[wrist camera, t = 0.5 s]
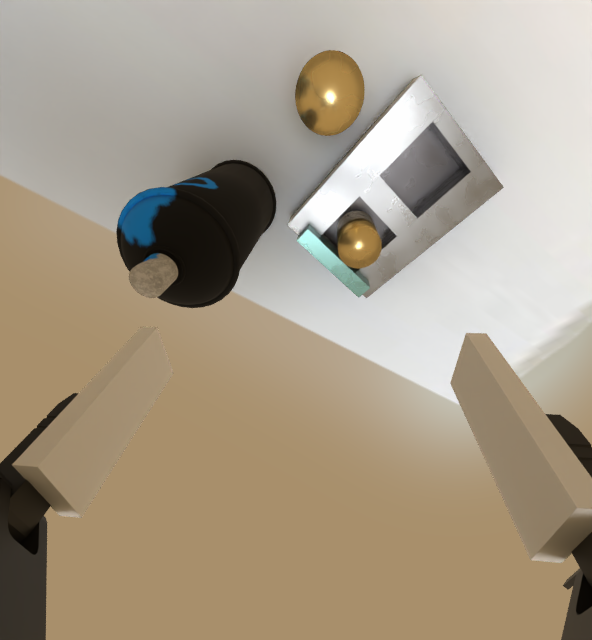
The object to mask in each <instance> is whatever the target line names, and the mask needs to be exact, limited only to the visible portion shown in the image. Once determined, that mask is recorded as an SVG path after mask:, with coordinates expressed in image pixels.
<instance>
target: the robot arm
mask: <svg viewBox="0 0 592 640" xmlns="http://www.w3.org/2000/svg"><path fill="white" fill-rule="evenodd" d="M172 375H173V370H172V367H171V365H170V362H169V359H168V356H167V353H166V351H165V347H164V345H163V342H162V339H161V336H160V333H159V330H158V327H141V328H140V329H139V330H138V331H137V332H136V333H135V334H134V335H133V336H132V337H131V338H130V339H129V340H128V341H127V343H126V344H125V345H124V346H123V347H122V348H121V349H120V350H119V351H118V352H117V353H116V354H115V355H114V356H113V358H112V359H111V360H110V361H109V362H108V363H107V364H106V365H105V366H104V367H103V368H102V369H101V370H100V371H99V373H98V374H97V375H96V376H95V377H94V378H93V379H92V380H91V381H90V382H89V383H88V384H87V385H86V387H84V388H83V389H82V391H81V392H80V393H79V394H78V393H74V394H72V395H71V396H69V397H68V398H66V399H65V400H63V401H62V402H60V403H59V404H58V405H57V406H56V407H55V408H54V409H53V410H52V411H51V412H50V413H49V414H48V415H47V418H45V419H43V420H42V421H41V422H40V423H39V424H38V425H37V428H35V429H33V430H32V431H31V433H30V434H29V435H28V436H27V437H26V438H25V439H24V440H23V441H22V442H21V443H20V444H19V445H18V446H17V447H16V448H15V449H14V450H13V451H12V452H11V453H10V454H9V455H8V456H7V457H6V458H5V459H4V460H3V461H2V462H1V463H0V640H46V639H45V638H46V637H45V636H46V567H47V565H46V563H47V521H46V518H45V517H44V514H45V513H46V511H47V510H48V509H49V507H50V506H51V507H52V508H53V509H54V510H55V511H56V512H57V514H58V515H60V516H69V517H80V518H82V516H83V515H84V513H85V511H86V510H87V508H88V507H89V505H90V504H91V502H92V500H93V499H94V497H95V496H96V494H97V493H98V491H99V489H100V488H101V486H102V485H103V483H104V482H105V480H106V478H107V477H108V475H109V474H110V472H111V470H112V469H113V467H114V466H115V464H116V463H117V461H118V460H119V458H120V456H121V455H122V453H123V452H124V450H125V449H126V447H127V445H128V444H129V442H130V441H131V439H132V437H133V436H134V434H135V433H136V431H137V430H138V428H139V426H140V425H141V423H142V422H143V420H144V418H145V417H146V415H147V414H148V412H149V411H150V409H151V408H152V406H153V404H154V403H155V401H156V400H157V398H158V397H159V395H160V393H161V392H162V390H163V389H164V387H165V386H166V384H167V382H168V381H169V379H170V378H171V376H172ZM451 386H452V388H453V390H454V392H455V394H456V397H457V399H458V401H459V403H460V406H461V408H462V410H463V412H464V414H465V417H466V418H467V421H468V423H469V425H470V428H471V430H472V432H473V434H474V436H475V438H476V441H477V443H478V445H479V447H480V449H481V452H482V454H483V456H484V458H485V460H486V463H487V465H488V467H489V469H490V472H491V474H492V476H493V478H494V480H495V483H496V485H497V487H498V489H499V491H500V493H501V496H502V498H503V500H504V502H505V505H506V507H507V509H508V511H509V514H510V515H511V518H512V520H513V522H514V525H515V527H516V529H517V531H518V533H519V535H520V538H521V540H522V542H523V544H524V547H525V549H526V551H527V553H528V555H529V558H530V560H537V561H546V562H557V563H562V562H563V561H564V560H565V559H566V558H567V557H568V556H569V555H570V554H571V553H572V554H573V556H574V557H575V559H576V561H577V563H578V564H579V566H580V569H579V570H578V571H576V572H575V573H574V574H573V575H572V576H571V577H569V579H567V580H566V582H565V583H564V585H563V586H564V587H565V588H567V589H570V588H571V587H572V586H573V590H572V595H571V599H570V603H569V608H568V612H567V617H566V621H565V626H564V630H563V634H562V639H561V640H592V447H591V444H590V443H589V442H588V440H587V439H586V438H585V437H584V435H583V434H582V433H581V432H580V430H579V429H578V428H576V427H575V426H574V425H573V424H571V423H570V422H569V421H567V420H566V419H565V418H564V417H562V416H561V415H551V414H550V415H549V414H545V413H544V412H543V411H542V409H541V408H540V406H539V405H538V404H537V402H536V401H535V399H534V398H533V397H532V395H531V394H530V393H529V391H528V390H527V389H526V387H525V386H524V384H523V383H522V382H521V380H520V379H519V378H518V376H517V375H516V373H515V372H514V371H513V369H512V368H511V367H510V365H509V364H508V363H507V361H506V360H505V358H504V357H503V356H502V354H501V353H500V352H499V350H498V349H497V347H496V346H495V345H494V343H493V342H492V341H491V339H490V338H489V337H488V335H487V334H481V333H466V335H465V338H464V342H463V345H462V348H461V351H460V354H459V357H458V361H457V364H456V367H455V370H454V373H453V377H452V380H451Z"/></svg>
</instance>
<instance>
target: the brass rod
mask: <svg viewBox="0 0 592 640" xmlns="http://www.w3.org/2000/svg"><path fill="white" fill-rule="evenodd" d="M295 99H296V106H297V110H298V113H299V116H300V118H301V119H302V121H303V123H304V124H305V125H306V126H307V127H308V128H309V129H310V130H312V131H313V132H315V133H317V134H320V135H325V136H330V135H336V134H339V133H341V132H343V131H344V130H346V129H347V128H348V127H349V126H350V125H351V124H352V123H353V122H354V121H355V119H356V118H357V116H358V115H359V112H360V110H361V107H362V104H363V100H364V81H363V76H362V74H361V71H360V69H359V67H358V65H357V64H356V62H355V61H354V60H353V59H352V58H351V57H350V56H348V55H347V54H345V53H343V52H340V51H335V50H329V51H324V52H321V53H319V54H317V55H316V56H314V57H313V58H311V59H310V60H309V61H308V62H307V64H306V65H305V66H304V68H303V69H302V71H301V73H300V75H299V78H298V81H297V85H296V92H295Z"/></svg>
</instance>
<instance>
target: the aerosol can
mask: <svg viewBox="0 0 592 640" xmlns="http://www.w3.org/2000/svg"><path fill="white" fill-rule="evenodd" d="M275 211H276V199H275V193H274V191H273V188H272V185H271V184H270V182H269V180H268V179H267V177H266V176H265V175H264V174H263V173H262V172H261V171H260V170H259V169H258V168H256V167H255V166H253V165H251V164H249V163H247V162H244V161H239V160H230V161H224V162H222V163H219V164H218V165H216V166H215V167H213V168H212V169H211V170H210V171H207V172H205V173H202V174H200V175H197V176H195V177H192V178H190V179H187V180H185V181H182V182H180V183H177V184H175V185H172V186H170V187H159V188H152V189H148V190H146V191H143V192H141V193H139V194H137V195H136V196H135V197H133V198H132V199H131V200H130V201H129V202H128V203H127V205H126V206H125V207H124V209H123V210H122V212H121V215H120V217H119V220H118V225H117V243H118V247H119V251H120V254H121V257H122V259H123V261H124V263H125V265H126V267H127V268H128V270H129V271H130V274H129V280H130V283H131V285H132V287H133V288H134V289H135V290H136V291H137V292H138V293H139V294H141V295H143V296H146V297H149V298H155V297H158V298H159V299H161V300H163V301H166V302H168V303H170V304H173V305H177V306H181V307H189V308H198V307H205V306H209V305H212V304H214V303H216V302H218V301H220V300H222V299H223V298H224V297H225V296H226V295H228V294H229V293H230V291H231V290H232V288H233V287H234V286H235V284H236V281H237V279H238V276H239V271H240V269H241V267H242V265H243V264H244V262H245V260H246V259H247V257H248V256H249V254H250V252H251V251H252V249H253V248H254V246H255V244H256V243H257V241H258V240H259V238H260V236H261V235H262V234H263V233H264V232H265V231H266V230H267V229H268V228H269V226H270V225H271V223H272V221H273V219H274V216H275Z"/></svg>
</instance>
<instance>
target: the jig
mask: <svg viewBox="0 0 592 640" xmlns="http://www.w3.org/2000/svg"><path fill="white" fill-rule="evenodd" d="M502 188H504V187H503V186H502V184H501V183H500V182H499V180H498V179H497V178H496V176H495V175H494V173H493V172H492V171H491V169H490V168H489V167H488V165H487V164H486V163H485V161H484V160H483V158H482V157H481V156H480V154H479V153H478V152H477V150H476V149H475V147H474V146H473V145H472V143H471V142H470V141H469V139H468V138H467V137H466V135H465V134H464V132H463V131H462V130H461V128H460V127H459V126H458V124H457V123H456V121H455V120H454V119H453V117H452V116H451V115H450V113H449V112H448V110H447V109H446V108H445V106H444V105H443V104H442V102H441V101H440V100H439V98H438V97H437V95H436V94H435V93H434V91H433V90H432V89H431V87H430V86H429V84H428V83H427V82H426V80H425V79H424V78H423V76H422V75H420V76H418V77H416V78H414V79H413V80H412V81H411V82H410V83H409V84H408V85H407V86H406V88H405V89H404V90H403V91H402V92H401V93H400V94H399V96H398V97H397V98H396V99H395V100H394V101H393V102H392V103H391V105H390V106H389V107H388V108H387V109H386V110H385V111H384V113H383V114H382V115H381V116H380V117H379V118H378V119H377V120H376V122H375V123H374V124H373V125H372V126H371V127H370V128H369V130H368V131H367V132H366V133H365V134H364V135H363V136H362V137H361V139H360V140H359V141H358V142H357V143H356V144H355V145H354V147H353V148H352V149H351V150H350V151H349V152H348V153H347V154H346V156H345V157H344V158H343V159H342V160H341V161H340V162H339V164H338V165H337V166H336V167H335V168H334V169H333V170H332V171H331V173H330V174H329V175H328V176H327V177H326V178H325V179H324V181H323V182H322V183H321V184H320V185H319V186H318V187H317V188H316V190H315V191H314V192H313V193H312V194H311V195H310V196H309V198H308V199H307V200H306V201H305V202H304V203H303V204H302V205H301V207H300V208H299V209H298V210H297V211H296V212H295V213H294V215H293V216H292V217H291V218H290V221H289V223H288V226H289V227H290V228H291V229H292V230H293V231H294V232H295V233H297V234H298V238H297V242H299V243H300V244H301V245H302V246H303V247H304V248H305V249H306V250H307V251H308V252H309V253H311V254H312V255H313V256H314V257H315V258H316V259H317V260H318V261H319V262H320V263H321V264H323V265H324V266H325V267H326V268H327V269H328V270H329V271H330V272H331V273H332V274H334V275H335V276H336V277H337V278H338V279H339V280H340V281H341V282H342V283H343V284H344V285H346V286H347V287H348V288H349V289H350V290H351V291H352V292H353V293H354V294H355V295H356V296H358V297H360V296H361V295H364V296H365V297H366V298H367V297H368V296H370V295H371V294H372V293H373V292H375V291H376V290H377V289H378V288H380V287H381V286H382V285H383V284H385V283H386V282H387V281H388V280H390V279H391V278H392V277H393V276H394V275H396V274H397V273H398V272H399V271H401V270H402V269H403V268H404V267H406V266H407V265H408V264H409V263H411V262H412V261H413V260H414V259H416V258H417V257H418V256H419V255H421V254H422V253H423V252H424V251H425V250H427V249H428V248H429V247H430V246H432V245H433V244H434V243H435V242H437V241H438V240H439V239H440V238H442V237H443V236H444V235H445V234H447V233H448V232H449V231H450V230H452V229H453V228H454V227H455V226H456V225H458V224H459V223H460V222H461V221H463V220H464V219H465V218H466V217H468V216H469V215H470V214H471V213H473V212H474V211H475V210H476V209H478V208H479V207H480V206H481V205H482V204H484V203H485V202H486V201H487V200H489V199H490V198H491V197H492V196H494V195H495V194H496V193H497V192H499V191H500V190H501V189H502Z"/></svg>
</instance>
